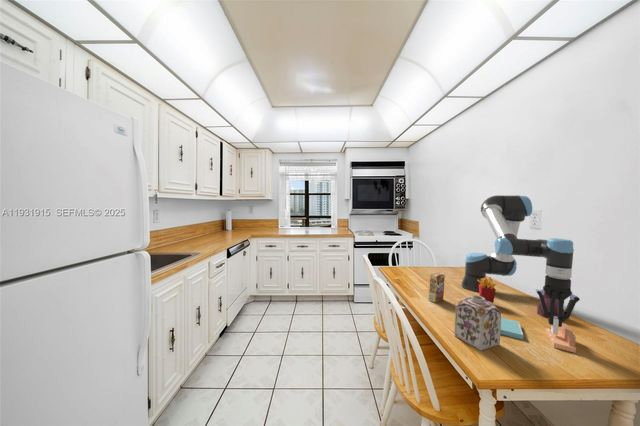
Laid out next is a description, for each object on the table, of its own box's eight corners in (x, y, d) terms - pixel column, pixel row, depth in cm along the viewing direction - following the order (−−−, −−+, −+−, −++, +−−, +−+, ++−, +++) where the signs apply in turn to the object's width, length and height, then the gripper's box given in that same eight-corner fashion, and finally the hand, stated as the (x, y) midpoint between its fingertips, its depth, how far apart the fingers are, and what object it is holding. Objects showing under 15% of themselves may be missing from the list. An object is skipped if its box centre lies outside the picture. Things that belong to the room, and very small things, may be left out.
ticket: (486, 318, 117) (487, 314, 117) (518, 325, 111) (518, 321, 110) (487, 330, 106) (487, 326, 106) (523, 339, 99) (523, 335, 99)
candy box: (435, 303, 135) (436, 276, 134) (428, 300, 138) (429, 274, 138) (444, 299, 140) (445, 273, 139) (437, 297, 143) (438, 272, 142)
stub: (545, 331, 105) (546, 318, 105) (564, 336, 102) (565, 322, 102) (553, 347, 94) (554, 332, 94) (575, 352, 90) (576, 337, 90)
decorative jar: (453, 335, 101) (455, 293, 100) (471, 330, 106) (473, 290, 105) (482, 352, 90) (484, 305, 89) (501, 345, 95) (503, 300, 94)
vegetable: (538, 322, 121) (529, 293, 122) (538, 313, 129) (530, 285, 129) (567, 324, 114) (558, 294, 114) (566, 315, 121) (557, 286, 122)
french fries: (495, 307, 131) (496, 280, 130) (477, 304, 133) (479, 278, 133) (489, 301, 139) (491, 275, 138) (473, 299, 142) (474, 273, 141)
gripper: (538, 276, 98) (535, 332, 99) (584, 282, 91) (580, 342, 92) (534, 271, 105) (531, 324, 106) (577, 277, 97) (573, 333, 98)
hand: (554, 333), depth 99 cm, fingers closed
